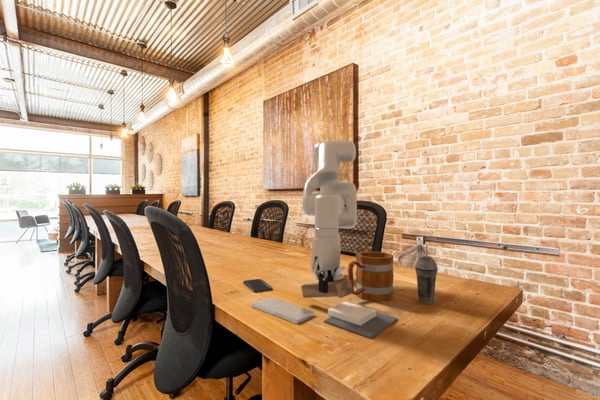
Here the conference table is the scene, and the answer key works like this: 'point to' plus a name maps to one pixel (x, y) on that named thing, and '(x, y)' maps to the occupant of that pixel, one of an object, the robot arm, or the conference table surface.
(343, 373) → the conference table surface
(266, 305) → the tool rest
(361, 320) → the tile
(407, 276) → the conference table surface
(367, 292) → the mug
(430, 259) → the beverage cup
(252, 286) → the phone
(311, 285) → the brown t-shaped post
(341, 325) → the mat
